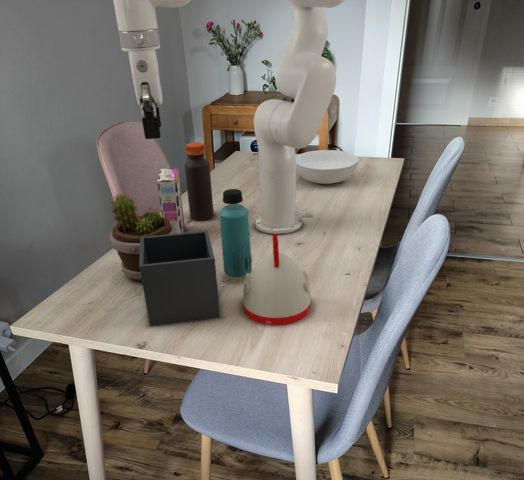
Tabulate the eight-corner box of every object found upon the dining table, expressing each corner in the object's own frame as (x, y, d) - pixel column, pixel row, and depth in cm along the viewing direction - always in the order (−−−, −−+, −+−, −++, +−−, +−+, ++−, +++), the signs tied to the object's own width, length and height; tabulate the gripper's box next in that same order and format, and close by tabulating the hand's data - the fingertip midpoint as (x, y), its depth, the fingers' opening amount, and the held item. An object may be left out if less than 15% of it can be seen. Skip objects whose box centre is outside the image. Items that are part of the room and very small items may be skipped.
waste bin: (213, 285, 119) (207, 230, 111) (220, 317, 108) (214, 258, 100) (149, 292, 117) (140, 237, 110) (149, 326, 106) (139, 266, 98)
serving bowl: (282, 183, 176) (281, 162, 172) (314, 167, 189) (314, 147, 185) (338, 194, 165) (339, 171, 162) (367, 176, 179) (369, 154, 175)
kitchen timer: (307, 289, 116) (308, 224, 107) (313, 323, 105) (315, 253, 96) (243, 292, 116) (239, 226, 107) (243, 326, 105) (238, 255, 96)
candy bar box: (184, 243, 138) (176, 180, 129) (165, 244, 138) (156, 181, 129) (186, 227, 147) (178, 166, 138) (167, 228, 147) (159, 168, 138)
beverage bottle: (249, 285, 118) (244, 196, 107) (220, 283, 120) (212, 195, 108) (255, 272, 124) (251, 186, 112) (227, 270, 125) (221, 185, 113)
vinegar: (186, 220, 152) (178, 147, 140) (195, 211, 157) (187, 140, 145) (209, 222, 150) (202, 148, 139) (217, 213, 155) (211, 141, 144)
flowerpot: (189, 261, 130) (179, 178, 118) (167, 291, 117) (154, 202, 106) (133, 257, 132) (118, 176, 121) (106, 286, 120) (87, 199, 109)
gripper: (158, 44, 98) (171, 141, 107) (159, 35, 112) (171, 122, 122) (116, 46, 97) (133, 144, 107) (123, 37, 111) (137, 124, 121)
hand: (153, 132), depth 114 cm, fingers open, 9 cm apart
